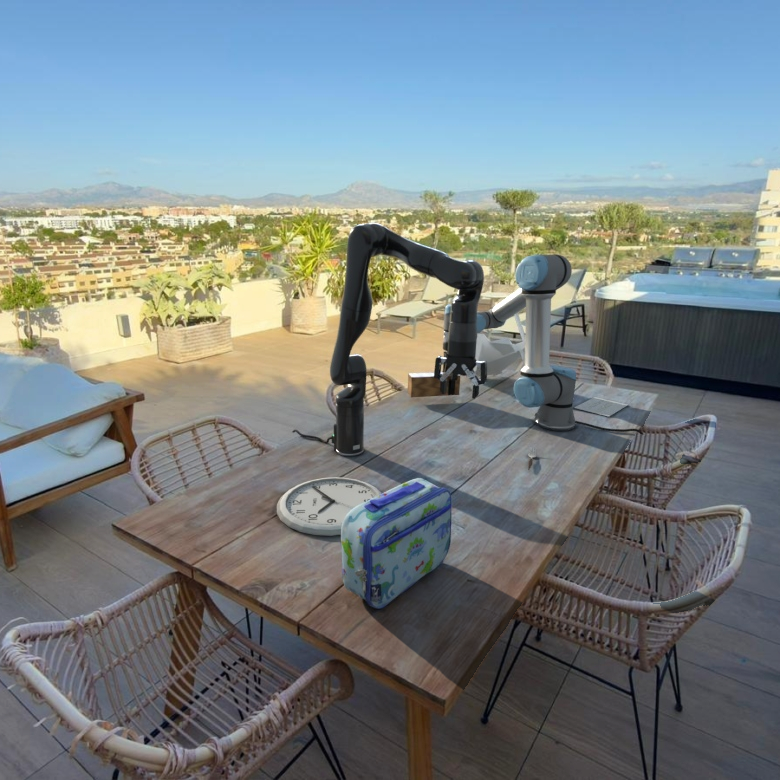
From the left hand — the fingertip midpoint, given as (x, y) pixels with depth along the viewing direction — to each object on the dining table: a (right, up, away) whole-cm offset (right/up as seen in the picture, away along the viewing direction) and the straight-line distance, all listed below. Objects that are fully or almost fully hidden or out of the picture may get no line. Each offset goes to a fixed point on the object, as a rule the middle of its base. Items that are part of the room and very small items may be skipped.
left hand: (459, 395), depth 144 cm
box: (0, 0, +86) cm, 86 cm away
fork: (+27, -22, +27) cm, 44 cm away
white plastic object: (+35, +4, +112) cm, 118 cm away
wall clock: (-35, -30, -1) cm, 46 cm away
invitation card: (+72, -6, +82) cm, 110 cm away
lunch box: (-17, -40, -31) cm, 53 cm away
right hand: (+7, +1, +87) cm, 88 cm away
